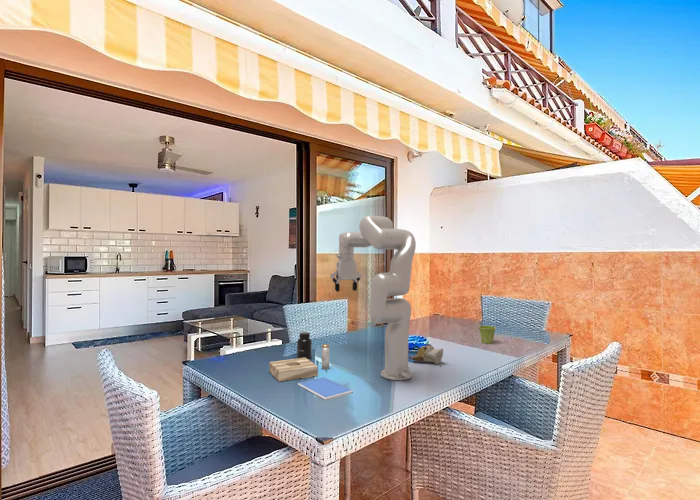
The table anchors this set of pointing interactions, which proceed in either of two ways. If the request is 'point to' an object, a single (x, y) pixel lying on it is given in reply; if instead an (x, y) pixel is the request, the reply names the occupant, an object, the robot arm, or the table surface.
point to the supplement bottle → (304, 346)
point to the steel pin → (325, 356)
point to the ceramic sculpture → (428, 354)
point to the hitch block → (293, 369)
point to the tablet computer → (325, 388)
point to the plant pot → (487, 334)
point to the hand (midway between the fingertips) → (346, 290)
